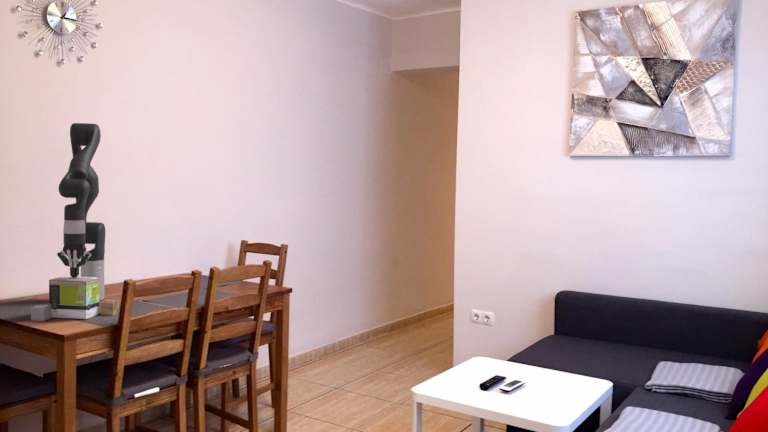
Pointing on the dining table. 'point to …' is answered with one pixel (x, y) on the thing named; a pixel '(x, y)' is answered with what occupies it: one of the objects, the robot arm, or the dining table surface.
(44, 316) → the slate block
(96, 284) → the tea box
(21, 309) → the dining table surface
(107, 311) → the brown box
